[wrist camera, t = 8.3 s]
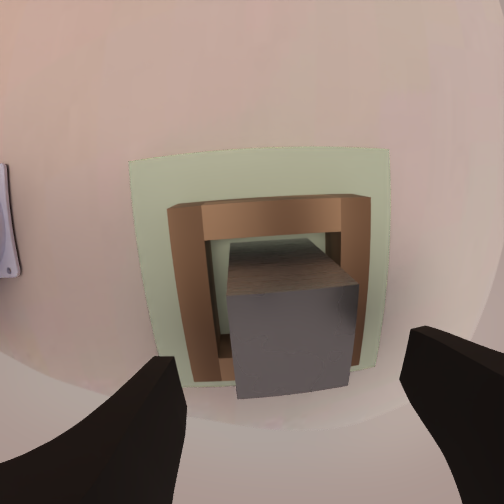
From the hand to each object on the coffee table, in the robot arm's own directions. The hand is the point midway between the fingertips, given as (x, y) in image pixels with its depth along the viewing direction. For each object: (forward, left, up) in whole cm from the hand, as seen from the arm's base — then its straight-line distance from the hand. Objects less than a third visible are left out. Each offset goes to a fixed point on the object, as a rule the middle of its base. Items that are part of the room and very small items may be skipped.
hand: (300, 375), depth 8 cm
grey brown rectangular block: (0, 0, -8) cm, 8 cm away
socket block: (0, 0, -9) cm, 9 cm away
